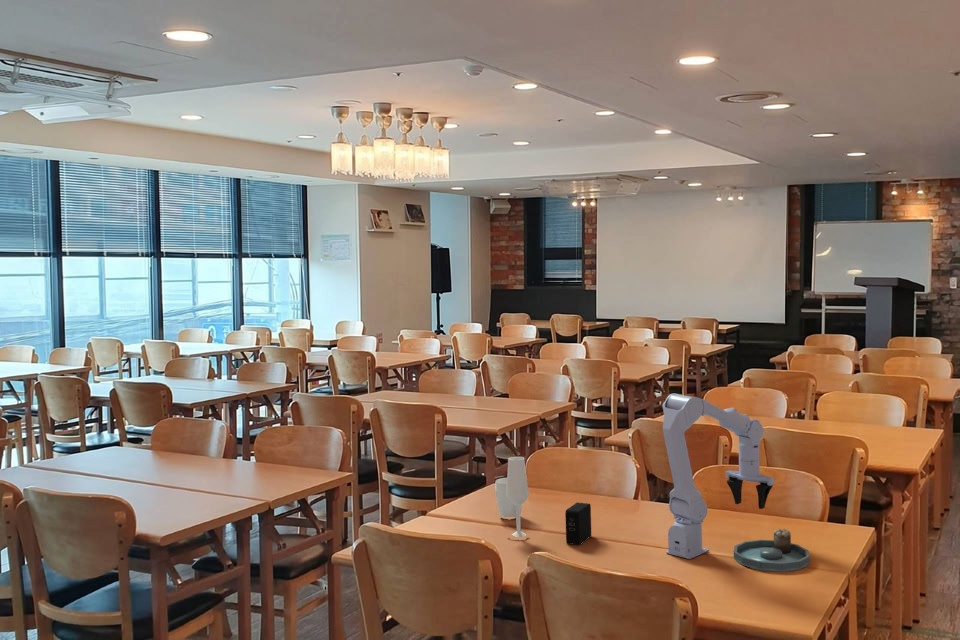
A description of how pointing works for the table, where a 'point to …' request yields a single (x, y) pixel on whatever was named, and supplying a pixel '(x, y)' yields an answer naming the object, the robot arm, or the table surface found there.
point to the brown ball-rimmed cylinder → (782, 540)
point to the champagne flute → (517, 487)
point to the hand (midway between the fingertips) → (749, 505)
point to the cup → (504, 499)
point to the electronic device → (578, 523)
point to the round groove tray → (757, 557)
